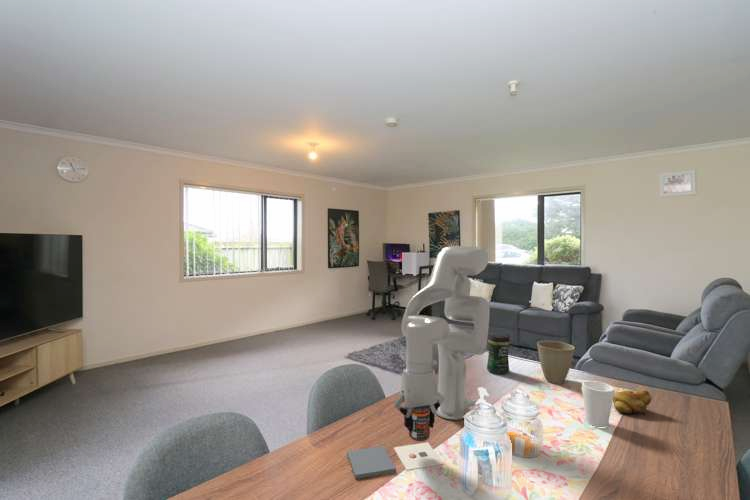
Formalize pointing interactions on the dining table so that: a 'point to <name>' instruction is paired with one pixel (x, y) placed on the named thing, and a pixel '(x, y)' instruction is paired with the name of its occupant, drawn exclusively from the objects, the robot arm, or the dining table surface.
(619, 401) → the bread roll
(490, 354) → the coffee jar
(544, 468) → the dining table surface
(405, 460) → the tile
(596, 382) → the foam cup
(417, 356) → the robot arm
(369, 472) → the place mat
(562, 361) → the plant pot
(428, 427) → the supplement bottle
